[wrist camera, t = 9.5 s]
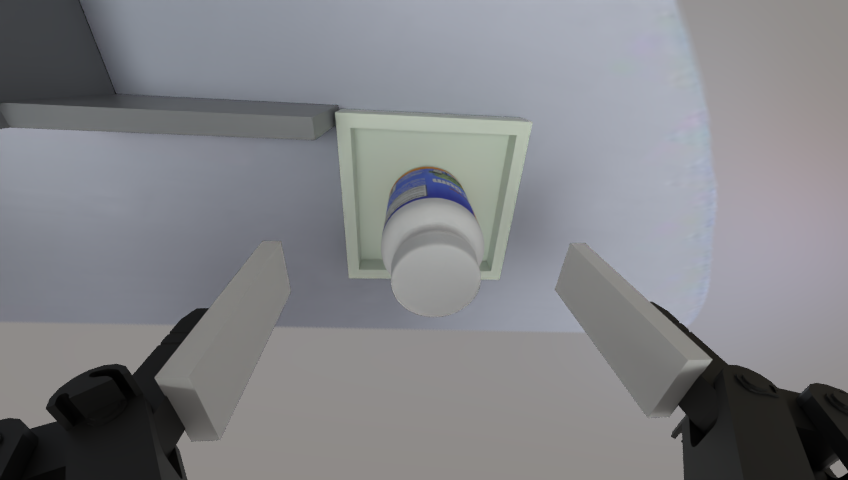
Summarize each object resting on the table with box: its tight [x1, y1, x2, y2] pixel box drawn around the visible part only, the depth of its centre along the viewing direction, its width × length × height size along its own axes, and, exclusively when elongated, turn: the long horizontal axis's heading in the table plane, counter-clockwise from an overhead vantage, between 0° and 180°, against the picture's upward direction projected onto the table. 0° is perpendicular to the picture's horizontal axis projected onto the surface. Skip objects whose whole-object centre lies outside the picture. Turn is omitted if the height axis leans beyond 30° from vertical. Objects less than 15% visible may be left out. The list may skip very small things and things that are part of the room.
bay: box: [0, 0, 338, 140], centre depth 13 cm, size 14×10×8 cm
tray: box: [335, 109, 533, 280], centre depth 21 cm, size 12×12×2 cm
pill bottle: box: [381, 166, 484, 317], centre depth 17 cm, size 5×5×10 cm
